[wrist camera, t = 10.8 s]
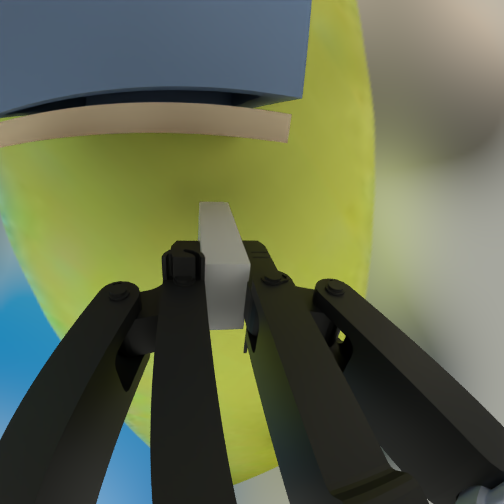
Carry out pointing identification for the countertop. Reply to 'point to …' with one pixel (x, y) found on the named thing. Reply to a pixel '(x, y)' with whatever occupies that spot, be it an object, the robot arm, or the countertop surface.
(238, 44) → the cabinet
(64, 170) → the countertop surface
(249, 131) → the door
